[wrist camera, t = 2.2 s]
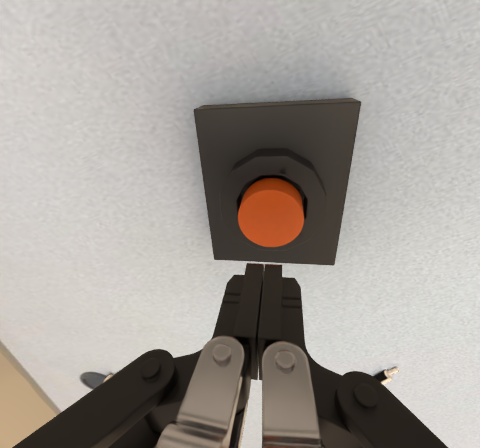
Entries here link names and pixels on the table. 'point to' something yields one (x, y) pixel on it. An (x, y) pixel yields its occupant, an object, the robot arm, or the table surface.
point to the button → (271, 212)
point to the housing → (278, 171)
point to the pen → (386, 375)
